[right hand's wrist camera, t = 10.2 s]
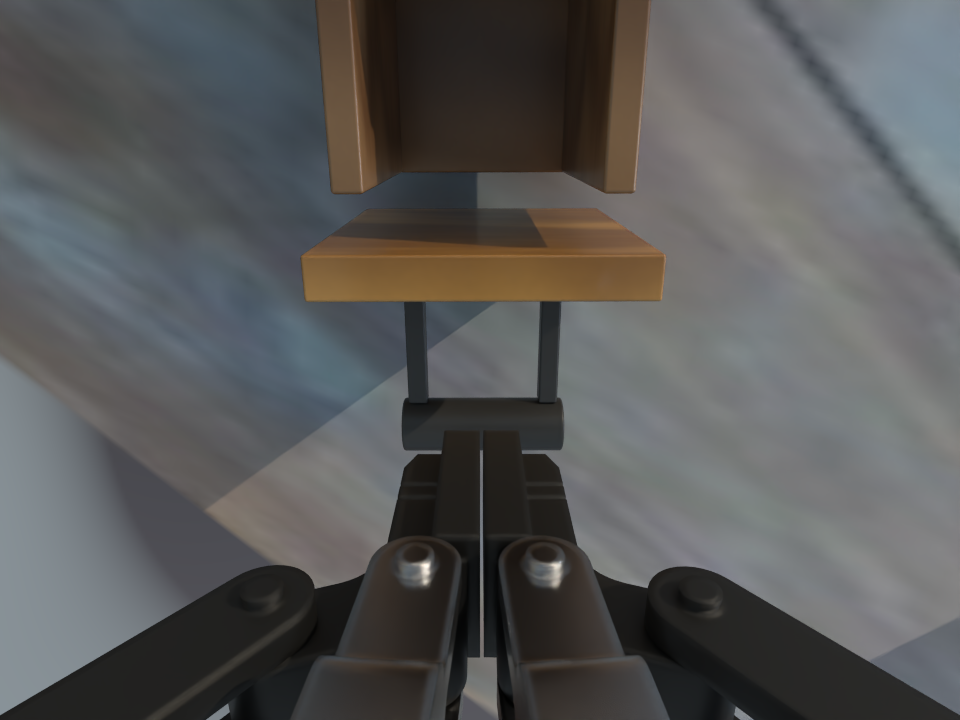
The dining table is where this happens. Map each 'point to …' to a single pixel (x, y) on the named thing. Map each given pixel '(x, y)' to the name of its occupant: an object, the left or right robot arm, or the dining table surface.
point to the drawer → (482, 148)
